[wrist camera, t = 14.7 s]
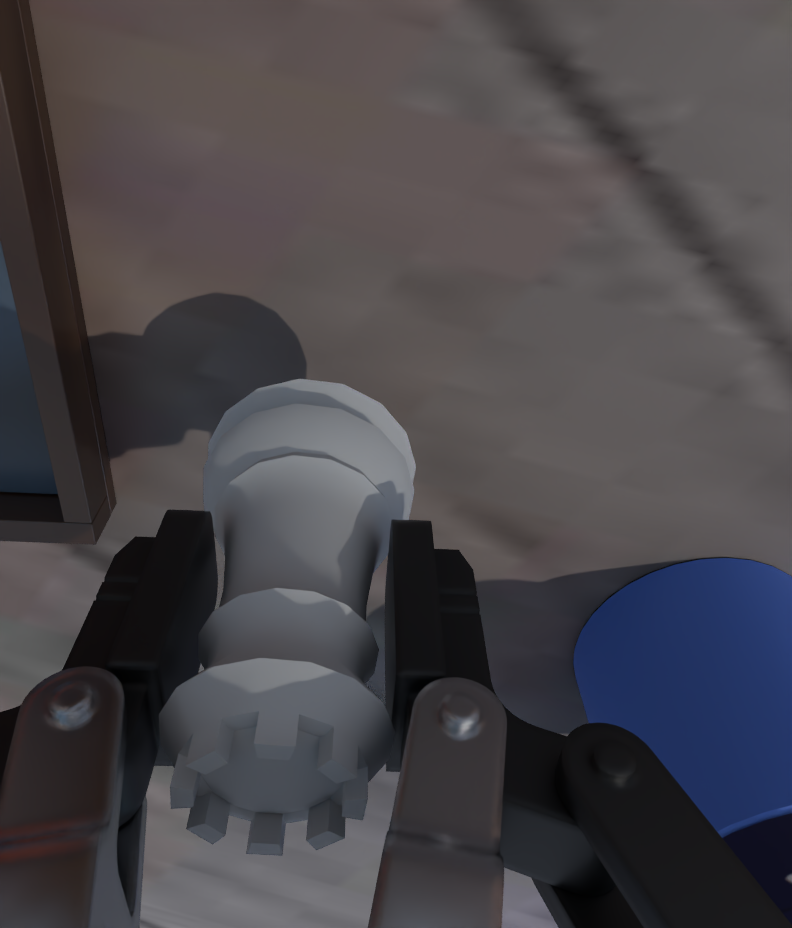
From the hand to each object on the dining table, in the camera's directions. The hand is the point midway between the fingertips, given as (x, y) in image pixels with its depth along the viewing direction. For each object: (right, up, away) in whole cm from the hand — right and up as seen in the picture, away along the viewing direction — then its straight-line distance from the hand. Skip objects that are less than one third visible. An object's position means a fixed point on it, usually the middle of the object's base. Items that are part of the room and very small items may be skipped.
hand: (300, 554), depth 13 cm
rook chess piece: (0, +2, +3) cm, 3 cm away
